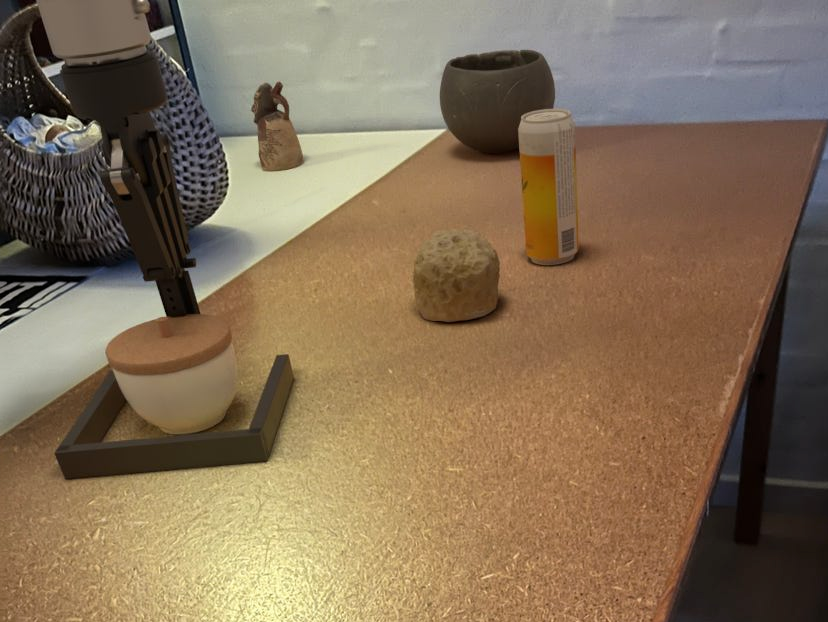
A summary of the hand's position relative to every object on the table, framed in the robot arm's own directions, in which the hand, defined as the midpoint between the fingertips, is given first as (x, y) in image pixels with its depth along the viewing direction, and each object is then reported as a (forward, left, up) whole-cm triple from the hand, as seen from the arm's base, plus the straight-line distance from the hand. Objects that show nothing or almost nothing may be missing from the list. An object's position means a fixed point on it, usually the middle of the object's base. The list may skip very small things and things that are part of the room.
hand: (192, 344), depth 91 cm
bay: (+3, -6, -5) cm, 8 cm away
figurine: (-50, +70, -5) cm, 86 cm away
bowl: (-17, +85, -5) cm, 87 cm away
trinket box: (+3, -5, -5) cm, 8 cm away
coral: (+13, +25, -5) cm, 29 cm away
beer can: (+15, +42, -5) cm, 45 cm away
